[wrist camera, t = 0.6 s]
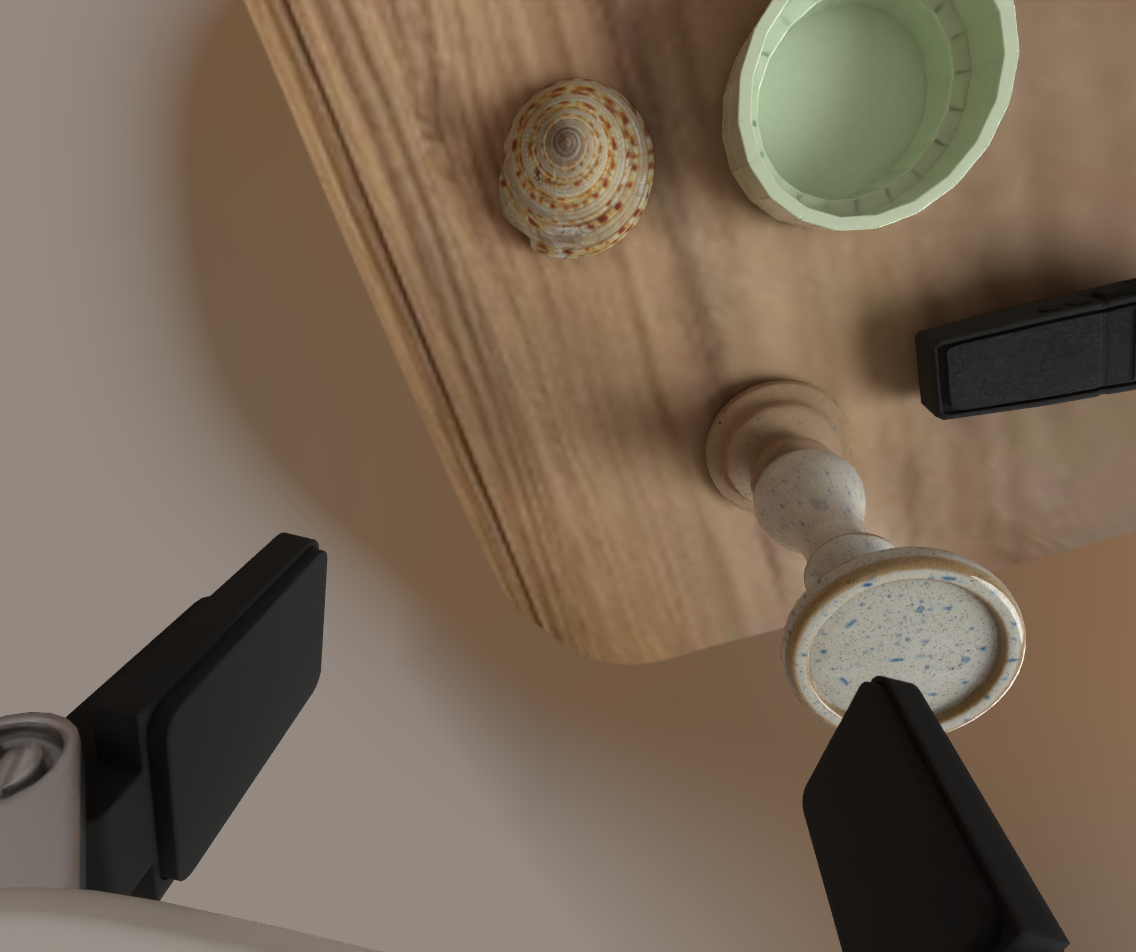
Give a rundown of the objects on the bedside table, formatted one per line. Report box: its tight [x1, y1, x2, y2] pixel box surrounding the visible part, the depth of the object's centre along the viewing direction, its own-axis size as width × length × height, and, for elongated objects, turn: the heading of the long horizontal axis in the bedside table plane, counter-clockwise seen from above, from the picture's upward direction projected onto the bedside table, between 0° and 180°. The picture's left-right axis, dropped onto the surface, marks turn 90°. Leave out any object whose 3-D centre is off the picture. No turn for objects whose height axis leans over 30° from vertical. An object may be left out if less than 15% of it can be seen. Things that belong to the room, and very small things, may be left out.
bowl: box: [722, 0, 1019, 231], centre depth 29 cm, size 11×11×6 cm
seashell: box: [499, 79, 654, 259], centre depth 33 cm, size 8×6×8 cm
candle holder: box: [705, 380, 1026, 733], centre depth 29 cm, size 9×9×20 cm
